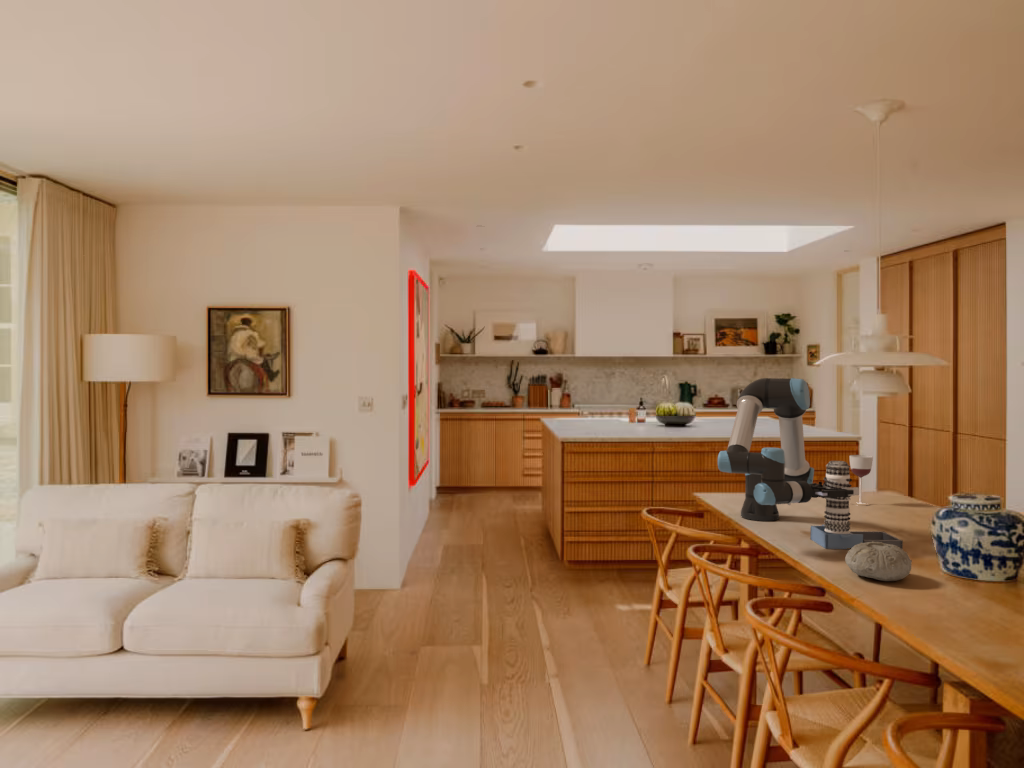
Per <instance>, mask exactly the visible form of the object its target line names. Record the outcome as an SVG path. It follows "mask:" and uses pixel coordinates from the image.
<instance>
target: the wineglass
mask: <svg viewBox="0 0 1024 768" xmlns="http://www.w3.org/2000/svg"><path fill="white" fill-rule="evenodd" d="M873 459H874V457H873V456H872V455H866V454H865V455H864V454H850V455H849V466H850V467H849V468H850V470H851V472H852V474H854V475H855V476H858V477H859V495H858V496H859V499H858V500H859V502H857V501H855V502H856V503H857V504H866V503H867V502H862V498H863V497H862V488H863V487H862V486H863V485H862V484H863V483H862V482H863V481H862V480H863V477H866V476H868V475H869V474H870V473H871V471H872V466H873Z"/></svg>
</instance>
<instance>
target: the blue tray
mask: <svg viewBox="0 0 1024 768" xmlns="http://www.w3.org/2000/svg"><path fill="white" fill-rule="evenodd" d="M824 525H825V524H821V525H810V538H809V539H810V540H811V541H813V542H814V543H816V544H817V545H819V546H821V547H822V548H823V549H826V550H829V549H830V550H833V549H834V550H837V549H838V550H848V549H847V548H852V547H854V546H855V545H857V544H860V543H863V534H833V533H828V532H825V531H824V530H825V529H826V528H825V527H824Z"/></svg>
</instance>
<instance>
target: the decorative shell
mask: <svg viewBox="0 0 1024 768" xmlns="http://www.w3.org/2000/svg"><path fill="white" fill-rule="evenodd" d="M844 561H845V564H846V566H847V567H848V568H849V569H850V570H851V572H852V573H854V574H856V575H857V576H861V577H866V578H869V579H870V578H871V579H873V580H877V581H881V582H894V581H895V582H896V581H899V580H903V579H904V578H906V577H908V576H909V574H910V573H911V571H912V563H913V561H912V559H911V558H910V556H909V555H908V552H907V551H905V550H904V549H901V548H900V547H898V546H896V545H893V544H892V545H890V544H885V543H882V542H874V541H872V542H867V543H860V544H857V545H855V546H854V547H852V548H851V549H848V550H847V553H846V554H845V558H844Z"/></svg>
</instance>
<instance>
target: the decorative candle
mask: <svg viewBox="0 0 1024 768" xmlns="http://www.w3.org/2000/svg"><path fill="white" fill-rule="evenodd" d="M825 467H826V468H825V469H826V472H825V477H823V481H824V483H823V484H824V485H825V486H827V487H825V488H829V489H843V488H852V487H853V486H852V484H850V482H853V479H852V478H851V477H850V476H851V474H850V468H851V467H850V464H849V463H848V462H847V461H845V460H844V461H843V460H830V461H829V462H828V463H827V464H826V465H825ZM851 497H852V496H848V497H847V498H845V499H844V498H843V497H835V498H824V499H825V510H824V512H823V513H824V514H825V515H824V516H823V517H824V518H825V519H824V521H823V522H824V524H823V525H824V527H825V528H826V529H825V530H824V531H825V532H828V533H833V534H849V533H850V531H851V526H850V525H851V521H850V520H851V517H850V515H851V513H850V501H851Z"/></svg>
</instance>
